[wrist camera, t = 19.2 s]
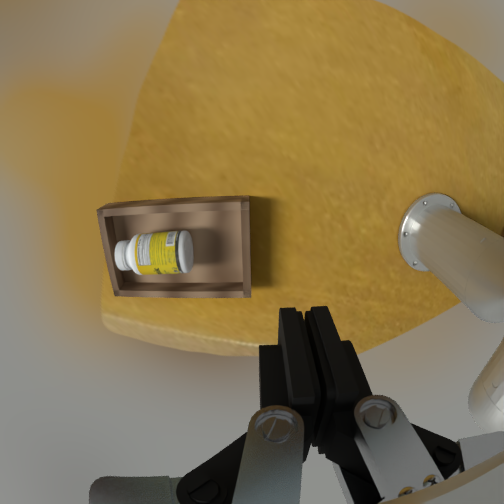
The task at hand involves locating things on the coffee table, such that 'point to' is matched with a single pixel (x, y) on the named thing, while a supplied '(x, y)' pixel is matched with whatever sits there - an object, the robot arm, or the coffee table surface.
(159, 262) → the supplement bottle
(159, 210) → the tray
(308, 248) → the coffee table surface
